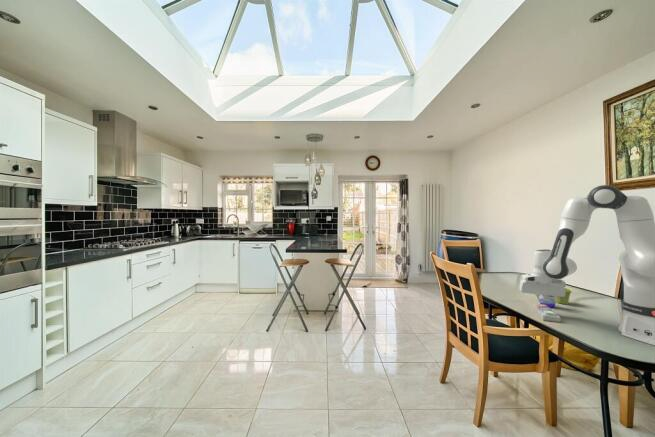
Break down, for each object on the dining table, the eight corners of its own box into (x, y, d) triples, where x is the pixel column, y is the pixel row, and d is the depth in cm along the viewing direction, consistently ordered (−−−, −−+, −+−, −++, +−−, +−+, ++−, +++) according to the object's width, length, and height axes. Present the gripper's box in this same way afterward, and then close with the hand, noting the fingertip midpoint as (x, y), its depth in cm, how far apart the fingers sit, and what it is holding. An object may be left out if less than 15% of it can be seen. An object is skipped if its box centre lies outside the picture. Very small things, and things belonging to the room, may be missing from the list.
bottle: (540, 306, 155) (541, 277, 155) (538, 303, 160) (538, 275, 160) (556, 308, 152) (556, 279, 152) (553, 305, 157) (553, 276, 157)
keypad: (533, 309, 151) (533, 304, 151) (548, 311, 148) (548, 306, 148) (543, 320, 136) (543, 315, 136) (560, 322, 133) (560, 317, 133)
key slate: (540, 309, 145) (540, 306, 145) (549, 310, 143) (549, 307, 143) (542, 312, 141) (542, 309, 141) (551, 313, 140) (551, 310, 140)
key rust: (537, 306, 149) (537, 303, 149) (545, 307, 148) (545, 304, 148) (539, 309, 146) (539, 306, 146) (548, 310, 144) (548, 307, 144)
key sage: (543, 312, 140) (543, 309, 140) (552, 314, 139) (552, 310, 139) (546, 315, 137) (546, 312, 137) (555, 316, 135) (555, 313, 135)
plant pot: (563, 300, 166) (563, 286, 166) (576, 305, 157) (576, 291, 156) (547, 300, 167) (547, 286, 167) (559, 305, 158) (559, 291, 157)
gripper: (563, 278, 145) (562, 303, 146) (519, 274, 153) (518, 298, 154) (568, 281, 140) (567, 306, 140) (522, 277, 148) (521, 301, 148)
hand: (541, 302), depth 147 cm, fingers closed
